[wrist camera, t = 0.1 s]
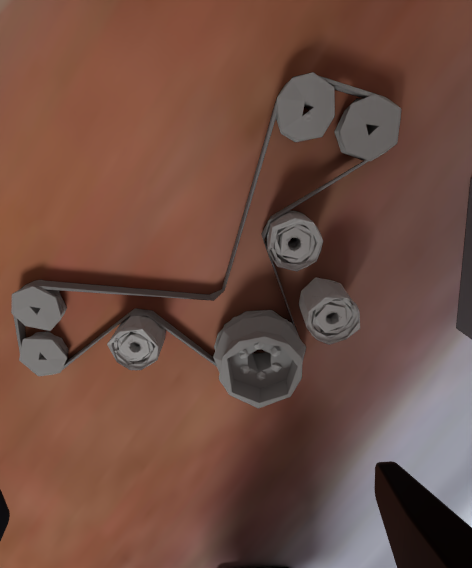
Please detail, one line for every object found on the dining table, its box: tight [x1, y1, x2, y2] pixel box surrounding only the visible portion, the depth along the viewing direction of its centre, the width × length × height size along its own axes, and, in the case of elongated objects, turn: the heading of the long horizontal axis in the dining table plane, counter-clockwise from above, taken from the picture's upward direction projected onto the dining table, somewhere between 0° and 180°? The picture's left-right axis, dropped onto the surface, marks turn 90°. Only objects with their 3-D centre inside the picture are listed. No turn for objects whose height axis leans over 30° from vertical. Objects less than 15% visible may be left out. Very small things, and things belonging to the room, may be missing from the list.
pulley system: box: [12, 72, 401, 408], centre depth 21 cm, size 27×5×15 cm
